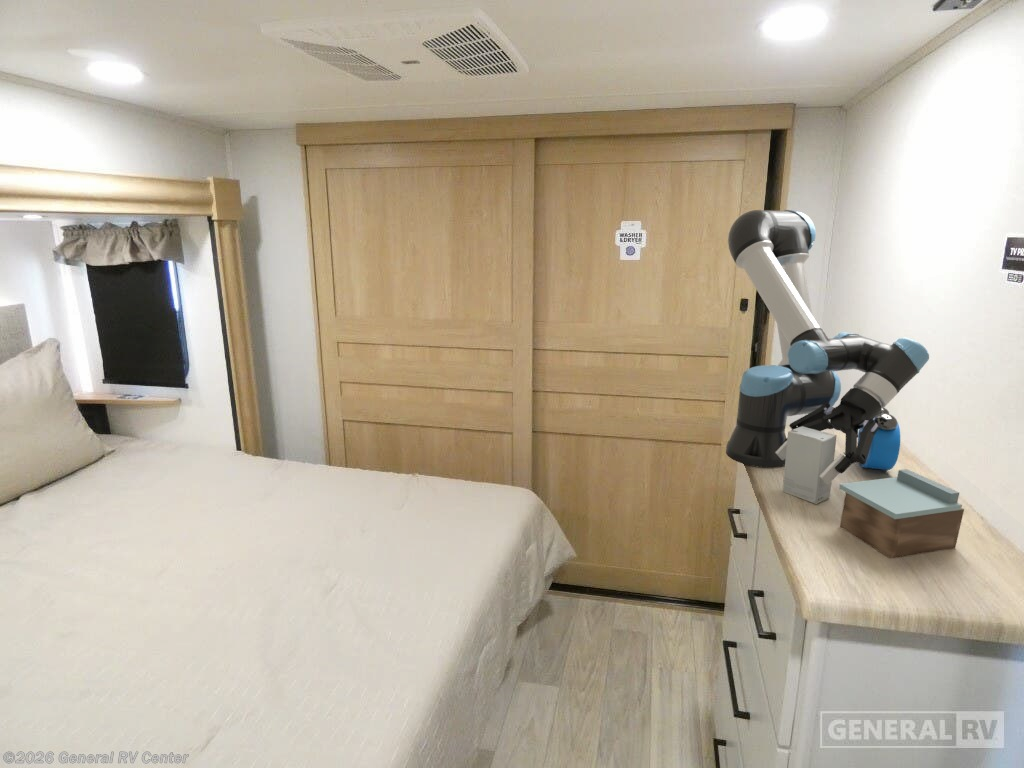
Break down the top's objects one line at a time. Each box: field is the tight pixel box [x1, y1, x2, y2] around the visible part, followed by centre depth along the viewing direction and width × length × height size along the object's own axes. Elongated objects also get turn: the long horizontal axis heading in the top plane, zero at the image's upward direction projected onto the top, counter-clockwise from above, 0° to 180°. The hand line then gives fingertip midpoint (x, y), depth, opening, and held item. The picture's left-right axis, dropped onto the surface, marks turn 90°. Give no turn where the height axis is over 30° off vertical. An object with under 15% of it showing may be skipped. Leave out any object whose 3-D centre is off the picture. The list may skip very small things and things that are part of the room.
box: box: [839, 492, 965, 559], centre depth 114 cm, size 12×15×8 cm
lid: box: [838, 468, 963, 519], centre depth 112 cm, size 13×15×3 cm
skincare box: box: [782, 426, 837, 505], centre depth 131 cm, size 8×6×15 cm
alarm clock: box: [857, 407, 901, 475], centre depth 146 cm, size 13×6×15 cm, turn 163°
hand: (800, 468), depth 130 cm, fingers open, 13 cm apart
